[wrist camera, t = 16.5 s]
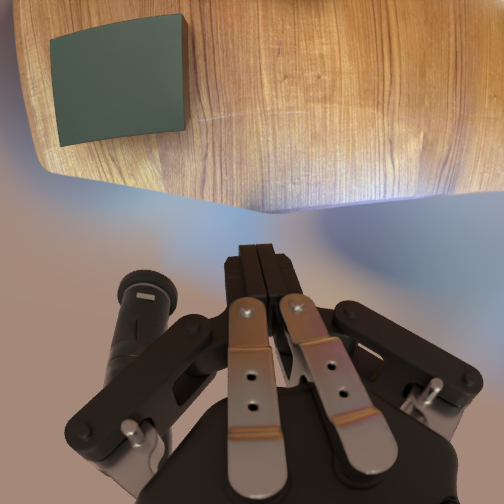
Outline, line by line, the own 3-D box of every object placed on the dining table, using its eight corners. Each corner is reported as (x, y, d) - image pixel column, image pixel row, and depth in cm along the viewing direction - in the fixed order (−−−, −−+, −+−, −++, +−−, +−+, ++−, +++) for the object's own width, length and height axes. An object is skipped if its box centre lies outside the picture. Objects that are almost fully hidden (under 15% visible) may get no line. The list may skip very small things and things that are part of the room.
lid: (62, 145, 32) (60, 147, 31) (52, 39, 24) (49, 39, 24) (185, 129, 33) (185, 130, 33) (182, 14, 26) (182, 13, 25)
